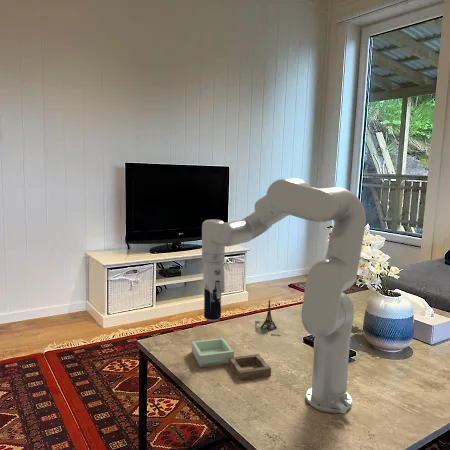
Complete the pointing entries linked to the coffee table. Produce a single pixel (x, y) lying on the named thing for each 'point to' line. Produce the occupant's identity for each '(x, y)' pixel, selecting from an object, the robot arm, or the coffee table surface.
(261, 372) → the socket block
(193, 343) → the tray
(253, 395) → the coffee table surface
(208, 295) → the beverage can
